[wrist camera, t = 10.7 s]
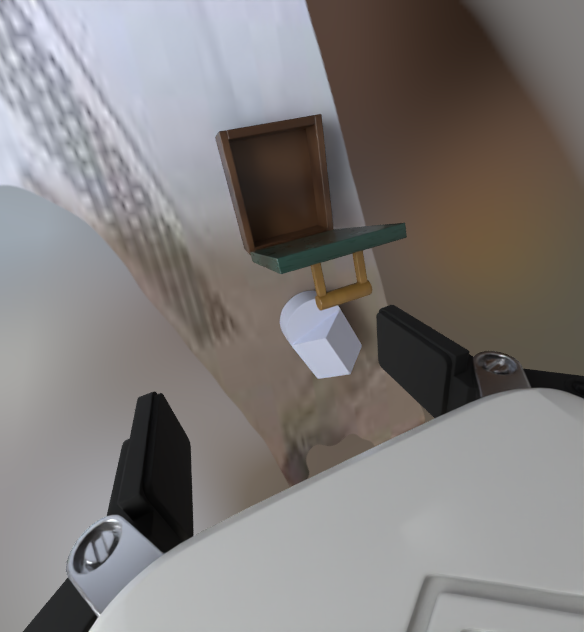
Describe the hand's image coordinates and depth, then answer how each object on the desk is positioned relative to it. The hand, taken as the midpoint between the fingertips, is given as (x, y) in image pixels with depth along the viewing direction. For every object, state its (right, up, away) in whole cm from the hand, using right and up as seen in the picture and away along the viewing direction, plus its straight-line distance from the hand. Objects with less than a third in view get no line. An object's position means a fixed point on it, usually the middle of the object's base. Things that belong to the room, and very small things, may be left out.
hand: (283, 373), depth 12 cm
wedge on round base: (+4, +1, +34) cm, 34 cm away
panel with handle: (+3, +10, +16) cm, 19 cm away
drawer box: (-2, +18, +23) cm, 30 cm away
